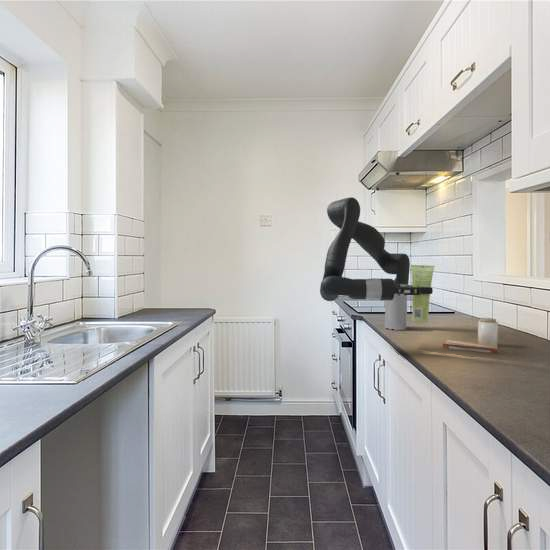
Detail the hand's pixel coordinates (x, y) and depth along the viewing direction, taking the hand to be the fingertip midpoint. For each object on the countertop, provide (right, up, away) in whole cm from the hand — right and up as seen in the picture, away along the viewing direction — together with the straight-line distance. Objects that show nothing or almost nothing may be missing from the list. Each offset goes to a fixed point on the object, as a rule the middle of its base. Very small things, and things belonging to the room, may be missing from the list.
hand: (429, 290), depth 130 cm
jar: (+21, -19, +3) cm, 29 cm away
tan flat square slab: (+15, -20, +1) cm, 25 cm away
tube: (-3, -11, +1) cm, 12 cm away
